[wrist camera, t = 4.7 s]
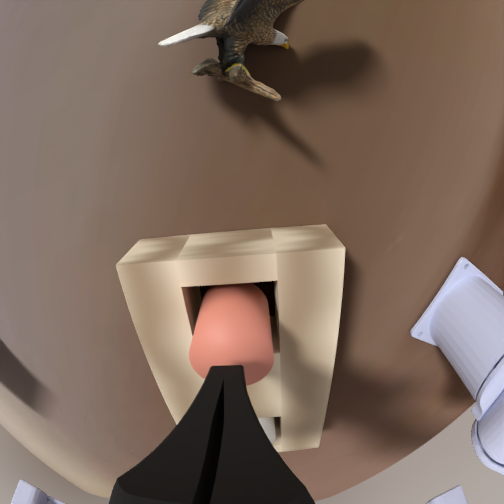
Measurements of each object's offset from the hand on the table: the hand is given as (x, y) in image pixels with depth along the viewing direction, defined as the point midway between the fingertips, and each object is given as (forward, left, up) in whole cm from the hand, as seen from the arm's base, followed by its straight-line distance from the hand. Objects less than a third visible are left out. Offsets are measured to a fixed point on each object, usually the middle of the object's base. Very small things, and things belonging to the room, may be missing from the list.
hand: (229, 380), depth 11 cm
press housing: (-3, +5, -8) cm, 10 cm away
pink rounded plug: (0, 0, -6) cm, 6 cm away
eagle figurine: (+6, -16, -9) cm, 19 cm away
